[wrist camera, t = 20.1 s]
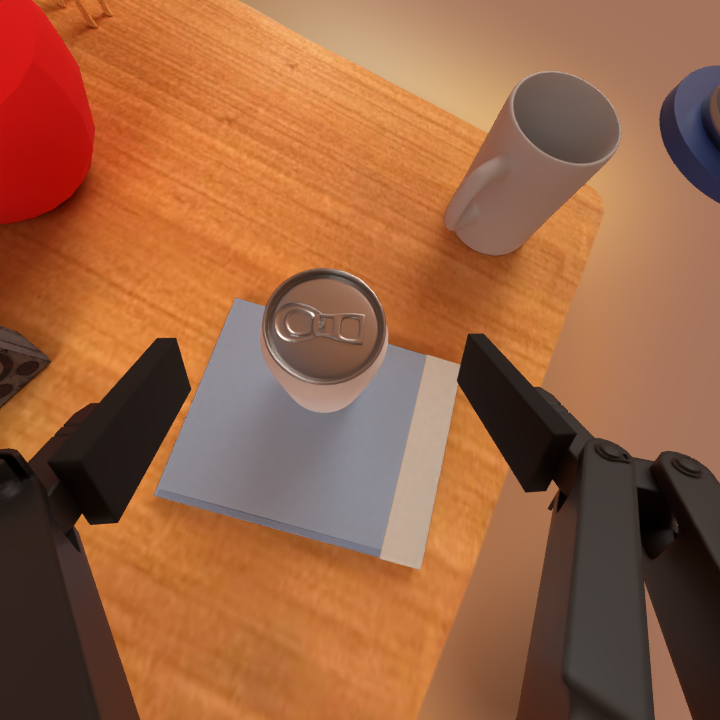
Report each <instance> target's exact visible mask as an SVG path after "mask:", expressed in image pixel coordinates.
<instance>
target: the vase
mask: <svg viewBox="0 0 720 720" xmlns="http://www.w3.org/2000/svg"><path fill="white" fill-rule="evenodd" d="M94 133H95V126H94V123H93V119H92V115H91V111H90V107H89V103H88V99H87V96H86V92H85V88H84V84H83V80H82V77H81V73H80V69H79V66H78V64H77V62H76V61H75V59H74V58H73V56H72V55H71V53H70V51H69V50H68V48H67V47H66V45H65V44H64V42H63V40H62V39H61V37H60V36H59V34H58V33H57V31H56V30H55V28H54V27H53V25H52V24H51V22H50V21H49V19H48V18H47V17H46V15H45V14H44V12H43V11H42V9H41V8H40V7H39V6H38V5H37V4H35V3H34V2H33V1H32V0H0V224H10V223H15V222H19V221H24V220H29V219H32V218H35V217H37V216H39V215H41V214H44V213H46V212H48V211H51V210H53V209H54V208H56V207H57V206H58V205H60V204H61V203H63V202H64V201H65V200H67V199H68V198H70V197H71V196H72V194H73V193H74V192H75V191H76V190H77V189H78V187H79V186H80V185H81V184H82V183H83V181H84V179H85V177H86V175H87V172H88V170H89V168H90V166H91V159H92V152H93V143H94Z"/></svg>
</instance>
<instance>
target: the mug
mask: <svg viewBox="0 0 720 720" xmlns="http://www.w3.org/2000/svg"><path fill="white" fill-rule="evenodd" d="M620 140H621V125H620V120H619V117H618V115H617V113H616V110H615V109H614V107H613V106H612V104H611V102H610V101H609V100H608V99H607V97H605V95H604V94H603V93H602V92H601V91H599V90H598V89H597V88H596V87H595V86H593V85H592V84H590V83H589V82H587V81H585V80H583V79H581V78H579V77H577V76H574V75H572V74H568V73H564V72H558V71H542V72H537V73H534V74H532V75H529V76H527V77H525V78H524V79H522V80H521V81H520V82H519V83H518V84H517V85H516V86H515V87H514V89H513V90H512V92H511V94H510V95H509V97H508V98H507V100H506V102H505V104H504V106H503V108H502V110H501V111H500V113H499V115H498V117H497V119H496V120H495V122H494V124H493V126H492V128H491V130H490V132H489V133H488V135H487V137H486V139H485V141H484V142H483V144H482V146H481V148H480V150H479V152H478V153H477V155H476V157H475V159H474V161H473V163H472V164H471V166H470V168H469V170H468V172H467V174H466V175H465V177H464V179H463V181H462V182H461V184H460V186H459V187H458V189H457V191H456V193H455V194H454V196H453V198H452V199H451V201H450V203H449V205H448V207H447V209H446V212H445V216H444V225H445V227H446V228H447V229H448V230H449V231H454V232H455V233H456V235H457V236H458V237H459V239H460V240H461V241H462V242H463V243H464V244H465V245H467V246H468V247H469V248H471V249H473V250H475V251H477V252H479V253H482V254H486V255H493V256H498V255H505V254H508V253H511V252H513V251H515V250H516V249H518V248H519V247H520V246H522V245H523V244H524V243H525V242H526V241H527V240H528V239H529V238H530V237H531V236H532V235H533V234H534V233H535V232H536V231H537V230H538V229H539V228H540V227H541V226H542V225H543V224H544V223H545V222H546V221H547V220H548V219H549V218H550V217H551V216H552V215H553V214H554V213H555V212H556V211H557V210H558V209H559V208H560V207H561V206H562V205H563V204H564V203H565V202H566V201H568V200H569V199H570V198H571V197H572V196H573V195H574V194H575V193H576V192H577V191H578V190H579V189H580V188H581V187H582V186H583V185H584V184H585V183H586V182H587V181H588V180H589V179H590V178H591V177H592V176H593V175H594V174H595V173H596V172H597V171H599V170H600V169H601V168H602V167H603V166H604V165H605V164H606V163H607V162H608V161H609V160H610V158H611V157H612V156H613V155H614V153H615V152H616V150H617V148H618V146H619V143H620Z"/></svg>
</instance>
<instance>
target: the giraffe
mask: <svg viewBox="0 0 720 720" xmlns="http://www.w3.org/2000/svg"><path fill="white" fill-rule="evenodd" d="M74 1H75V3H76V4H77V6H78V8H79V9H80V11H81V12H82V14H83V16H84V17H85V19H86V21H87V23H88V24H89V25H90V26H91V27H95V28H97V27H98V26H97V24H96V23H95V21H94V20H93V18H92V17H91V16H89V14H88V13H87V11H86V9H85V8H84V6H83V5H82V3H81V1H80V0H74ZM98 1H99V3H100V5H101V8H102V10H103V11H104V13H105V14H106V15H108V16H113V14H112V12H111V10H110V9H109V7H108V6H107V5H106V4H105V2H104V0H98ZM57 2H58V3H59V4H60V5H61V6H63V7H66V4H65V3H64V1H63V0H57Z"/></svg>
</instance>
